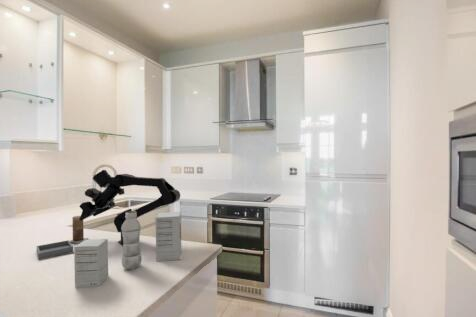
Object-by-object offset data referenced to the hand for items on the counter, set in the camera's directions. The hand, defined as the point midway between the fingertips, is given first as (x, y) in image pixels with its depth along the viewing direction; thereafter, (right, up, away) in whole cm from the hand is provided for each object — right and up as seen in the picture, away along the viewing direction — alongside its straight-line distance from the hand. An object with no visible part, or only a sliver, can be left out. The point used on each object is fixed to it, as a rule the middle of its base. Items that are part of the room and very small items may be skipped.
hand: (87, 217), depth 122 cm
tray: (-6, -12, -13) cm, 18 cm away
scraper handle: (-5, -12, 0) cm, 13 cm away
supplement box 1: (+25, -11, -40) cm, 49 cm away
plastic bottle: (+34, -11, -30) cm, 46 cm away
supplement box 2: (+44, -11, -19) cm, 50 cm away
